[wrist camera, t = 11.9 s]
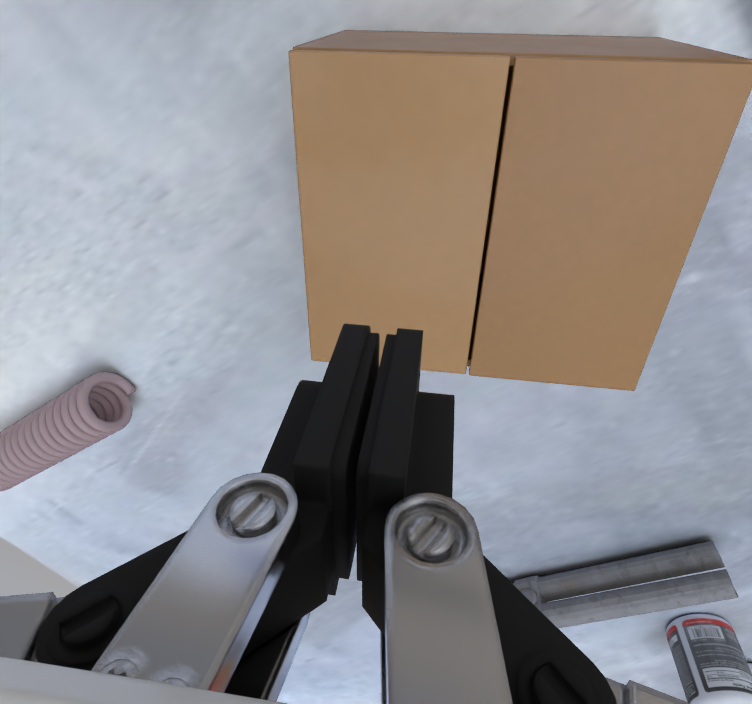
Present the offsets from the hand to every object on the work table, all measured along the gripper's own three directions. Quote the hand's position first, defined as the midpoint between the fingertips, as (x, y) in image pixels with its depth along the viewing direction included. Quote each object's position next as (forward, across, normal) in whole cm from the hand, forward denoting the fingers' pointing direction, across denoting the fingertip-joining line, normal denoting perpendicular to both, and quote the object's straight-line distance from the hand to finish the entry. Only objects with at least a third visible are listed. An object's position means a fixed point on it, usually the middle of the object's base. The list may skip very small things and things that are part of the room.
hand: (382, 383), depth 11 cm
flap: (+11, +1, +1) cm, 11 cm away
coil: (+21, +30, +24) cm, 44 cm away
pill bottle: (+21, -29, +42) cm, 55 cm away
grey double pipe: (+21, -15, +37) cm, 45 cm away
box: (+21, -3, +1) cm, 21 cm away
